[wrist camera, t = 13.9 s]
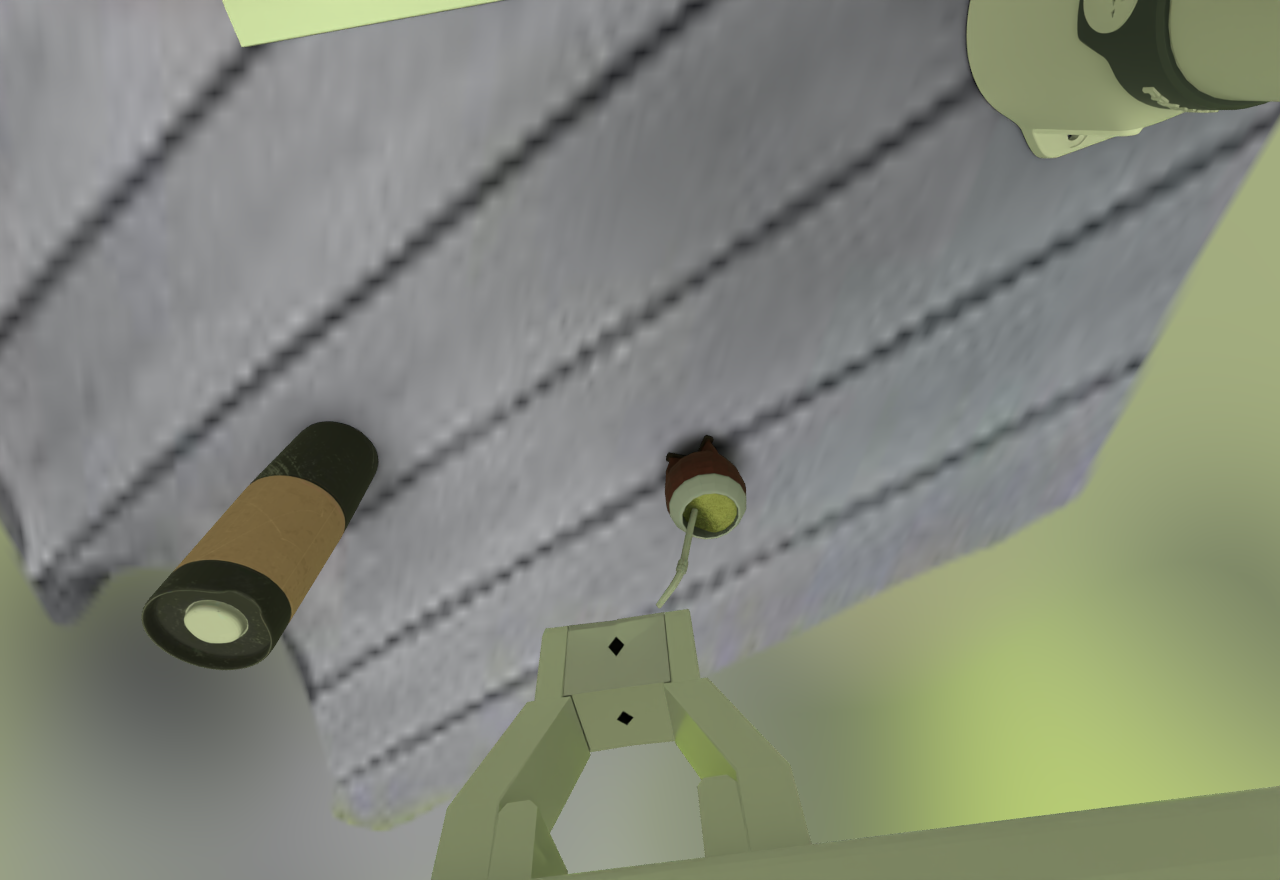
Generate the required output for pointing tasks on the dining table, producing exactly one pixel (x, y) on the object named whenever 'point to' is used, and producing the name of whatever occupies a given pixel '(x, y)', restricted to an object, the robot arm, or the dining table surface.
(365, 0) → the board
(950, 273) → the dining table surface
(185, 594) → the travel mug
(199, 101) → the dining table surface
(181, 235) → the dining table surface
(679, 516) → the mate gourd
